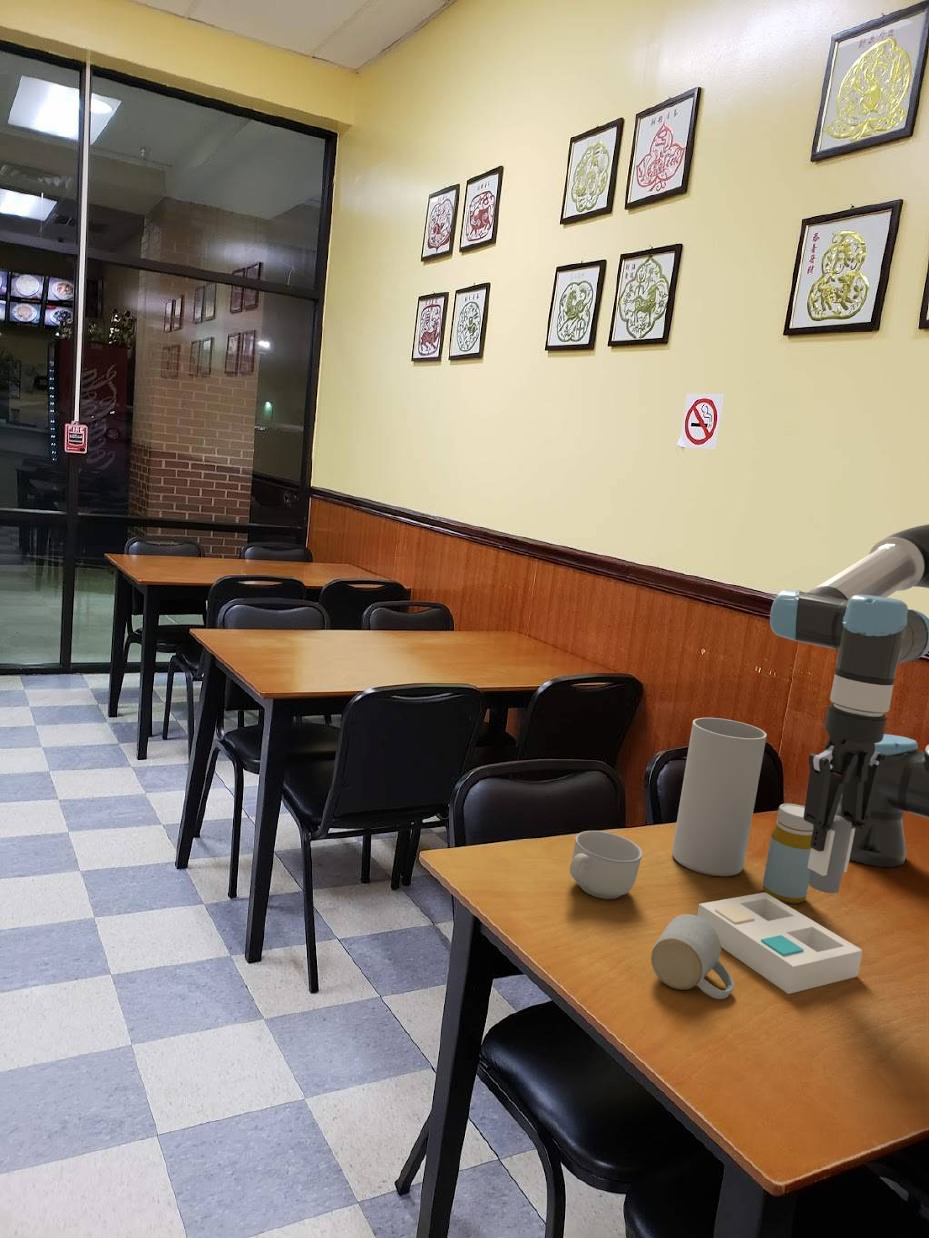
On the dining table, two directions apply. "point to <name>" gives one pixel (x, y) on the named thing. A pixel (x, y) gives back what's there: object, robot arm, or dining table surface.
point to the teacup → (605, 863)
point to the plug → (834, 858)
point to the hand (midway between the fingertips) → (827, 869)
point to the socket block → (781, 942)
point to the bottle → (789, 856)
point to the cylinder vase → (718, 796)
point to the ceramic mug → (690, 956)
